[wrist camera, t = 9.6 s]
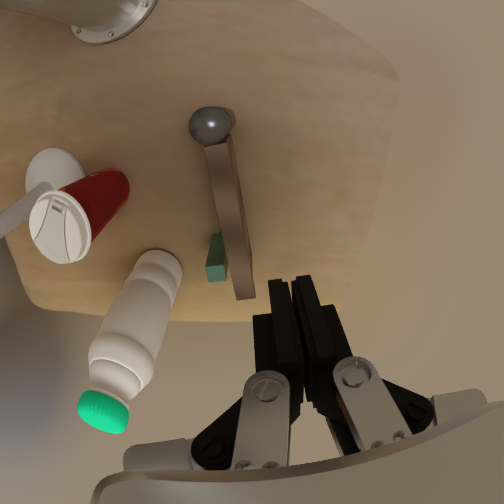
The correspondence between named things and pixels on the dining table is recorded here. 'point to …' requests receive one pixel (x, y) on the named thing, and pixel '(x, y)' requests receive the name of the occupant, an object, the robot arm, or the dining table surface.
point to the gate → (231, 215)
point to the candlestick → (41, 184)
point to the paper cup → (76, 214)
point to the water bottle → (130, 341)
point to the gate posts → (210, 132)
